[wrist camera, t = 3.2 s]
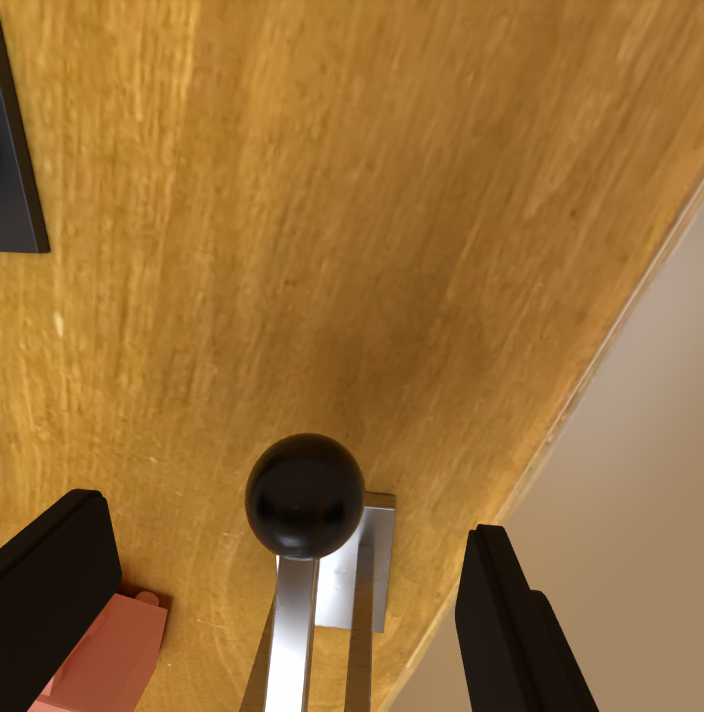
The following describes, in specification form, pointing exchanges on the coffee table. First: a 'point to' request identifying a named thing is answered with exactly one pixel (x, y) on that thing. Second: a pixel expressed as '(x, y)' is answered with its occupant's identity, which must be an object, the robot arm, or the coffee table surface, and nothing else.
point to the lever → (300, 546)
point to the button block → (16, 177)
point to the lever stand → (346, 602)
